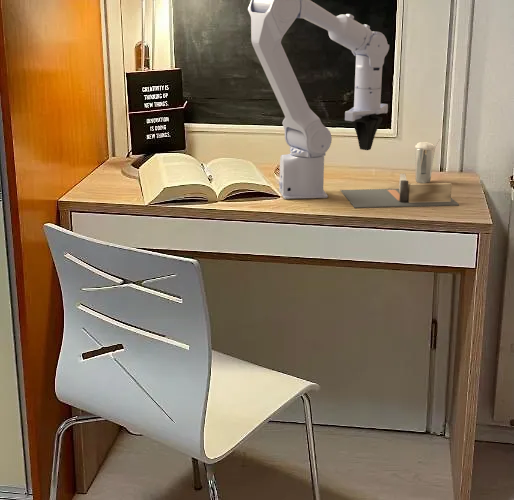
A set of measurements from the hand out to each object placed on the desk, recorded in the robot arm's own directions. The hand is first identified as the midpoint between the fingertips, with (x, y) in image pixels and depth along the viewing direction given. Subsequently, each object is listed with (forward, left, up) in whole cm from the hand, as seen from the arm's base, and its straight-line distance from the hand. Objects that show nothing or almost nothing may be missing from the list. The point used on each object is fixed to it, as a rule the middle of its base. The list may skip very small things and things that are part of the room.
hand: (365, 149), depth 200 cm
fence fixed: (+10, -15, -8) cm, 20 cm away
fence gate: (+6, -10, -8) cm, 14 cm away
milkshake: (+15, +3, -9) cm, 18 cm away
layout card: (+5, -11, -8) cm, 15 cm away
